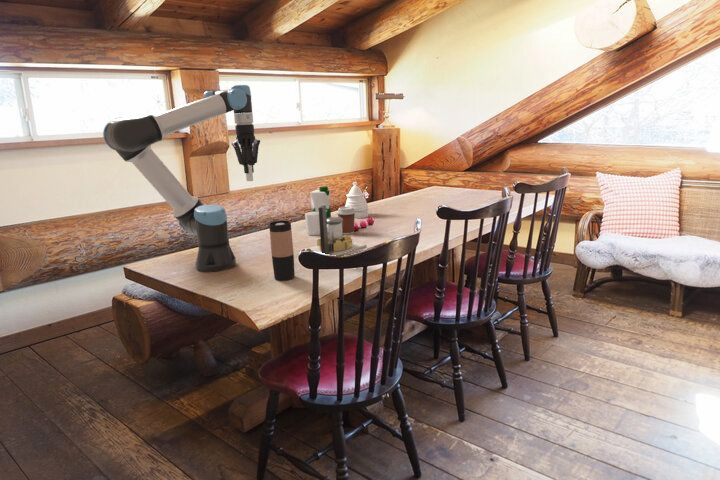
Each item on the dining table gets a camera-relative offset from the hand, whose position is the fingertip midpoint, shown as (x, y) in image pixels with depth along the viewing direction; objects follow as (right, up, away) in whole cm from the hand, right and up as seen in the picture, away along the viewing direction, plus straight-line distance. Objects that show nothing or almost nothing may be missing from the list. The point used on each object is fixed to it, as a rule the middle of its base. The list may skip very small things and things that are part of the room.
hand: (249, 180), depth 225 cm
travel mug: (+20, -39, -36) cm, 56 cm away
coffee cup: (+41, -22, +27) cm, 53 cm away
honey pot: (+45, -12, +64) cm, 79 cm away
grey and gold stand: (+36, -29, -6) cm, 47 cm away
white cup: (+25, -22, +28) cm, 44 cm away
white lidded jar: (+36, -29, -2) cm, 46 cm away
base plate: (+36, -29, -1) cm, 46 cm away
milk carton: (+28, -18, +43) cm, 54 cm away
